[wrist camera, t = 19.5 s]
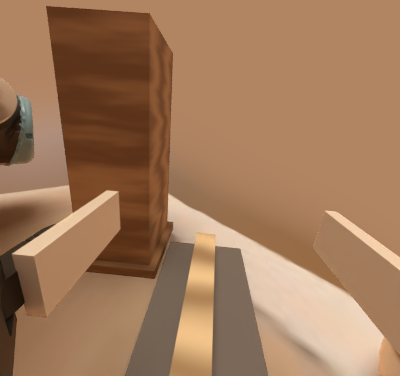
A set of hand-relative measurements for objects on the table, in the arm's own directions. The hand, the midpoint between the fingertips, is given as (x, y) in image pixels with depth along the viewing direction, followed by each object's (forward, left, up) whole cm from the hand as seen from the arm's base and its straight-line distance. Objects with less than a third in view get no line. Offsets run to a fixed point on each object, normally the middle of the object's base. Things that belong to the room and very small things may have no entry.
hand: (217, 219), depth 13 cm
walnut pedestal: (-21, +5, -15) cm, 26 cm away
